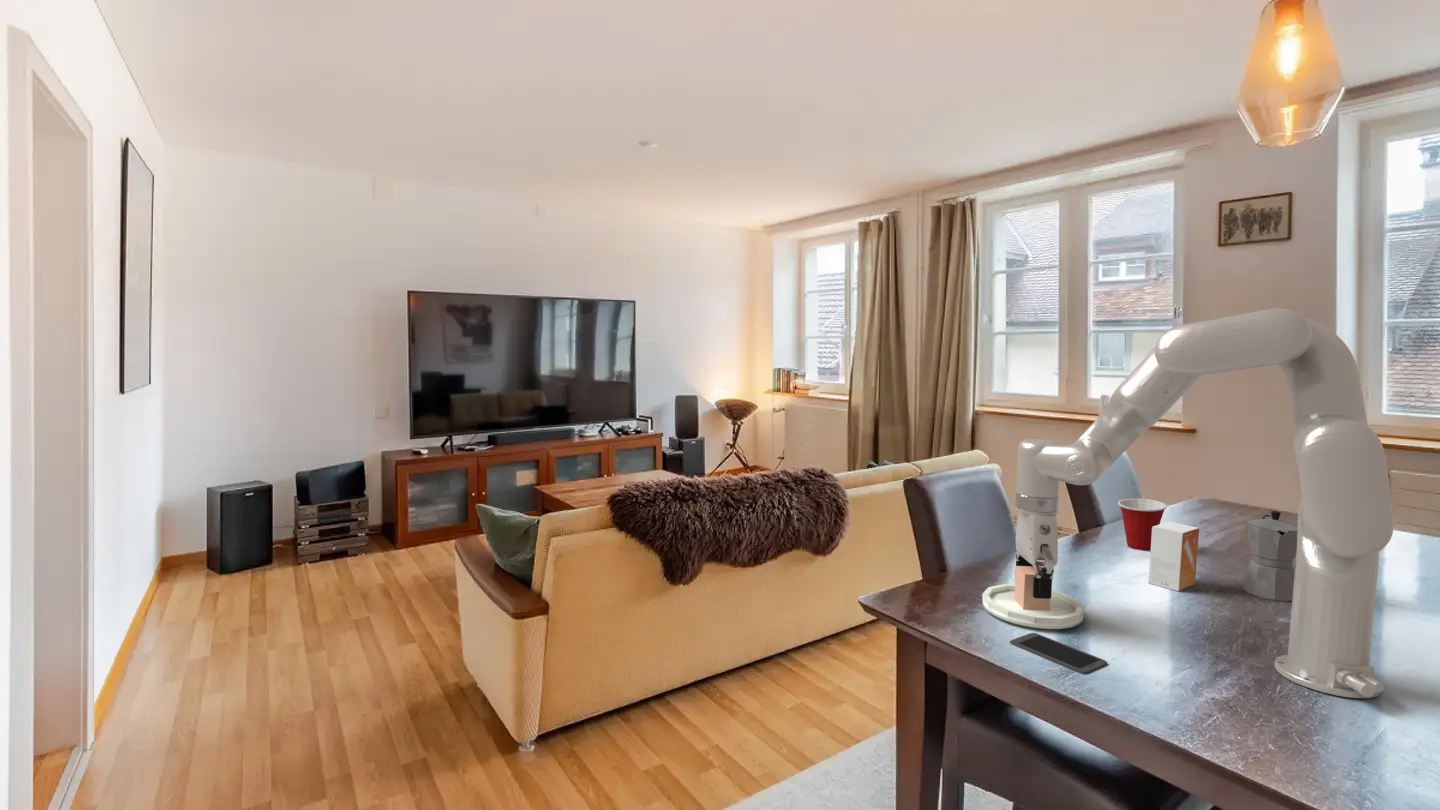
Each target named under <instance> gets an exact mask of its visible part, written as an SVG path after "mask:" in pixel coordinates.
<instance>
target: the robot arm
mask: <svg viewBox="0 0 1440 810" xmlns="http://www.w3.org/2000/svg"><path fill="white" fill-rule="evenodd" d="M1349 348H1350V347H1348V345H1347V344H1346V343H1345V342H1344V340H1342V338H1341V337H1339V335H1337V334H1336V333H1335V332H1334V331H1332V330H1331V329H1330V328H1328V327H1327V326H1325V325H1324V324H1321V323H1319V322H1318V321H1316V320H1314V319H1310V318H1308V317H1304V315H1302V314H1301V313H1299V312H1297V311H1294V310H1292V309H1287V308H1280V307H1279V308H1277V307H1275V308H1267V309H1263V310H1262V309H1261V310H1256V311H1251V312H1247V313H1242V314H1238V315H1236V314H1235V315H1232V316H1225V317H1220V318H1215V319H1210V320H1203V321H1197V322H1190V323H1189V322H1188V323H1185V324H1179V325H1176V326H1173V327H1171V328H1169V329H1167V330H1166V331H1165V332H1163V333H1162V334H1161V335H1160V337H1159V338H1158V340H1157V341H1156V344H1155V346H1154V347H1153V348H1152V349H1151V351H1149V353H1147V355H1146V356H1145V357H1144V358H1143V360H1142V361H1141V362H1139V364H1138V365H1137V366H1136V367H1135V368H1134V369H1133V371H1131V372H1130V373H1129V375H1128V376H1127V377H1126V378H1125V379H1124V380H1122V382H1121V383H1120V384H1119V386H1117V387H1116V389H1115V390H1114V391H1113V393H1112V395H1111V396H1110V399H1109V401H1108V403H1107V405H1106V406H1105V408H1104V410H1103V411H1102V412H1101V413H1100V414H1099V416H1098V417H1097V418H1096V419H1095V420H1094V421H1093V422H1092V424H1091V425H1090V426H1088V428H1087V429H1086V430H1085V431H1084V432H1083V433H1082V435H1080V437H1079V438H1078V439H1077V440H1076V441H1075V442H1073V443H1072V444H1065V445H1064V444H1061V445H1060V444H1059V443H1058V442H1056V441H1053V440H1049V439H1041V438H1039V439H1038V438H1032V439H1031V438H1029V439H1024V440H1022V441H1020V442H1019V443H1018V447H1017V460H1016V483H1015V484H1016V485H1015V503H1014V504H1015V505H1014V509H1015V510H1016V511H1018V512H1017V519H1016V528H1015V550H1016V551H1017V552H1016V553H1015V567H1016V566H1034V570H1035V575H1036V577H1034V579H1033V597H1034V598H1041V599H1050V598H1051V592H1052V590H1053V589H1052V588H1053V578H1054V573H1055V569H1054V568H1055V567H1056V566H1057V565H1058V562H1059V561H1058V560H1059V559H1058V558H1059V552H1058V551H1059V547H1058V545H1059V542H1058V541H1059V539H1058V538H1059V537H1058V536H1059V535H1058V534H1059V533H1058V522H1057V514H1058V512H1059V491H1060V490H1059V489H1060V482H1063V483H1066V484H1071V485H1076V486H1087V485H1090V484H1093V483H1095V482H1096V481H1097V480H1098V479H1099V478H1100V477H1101V476H1102V475H1103V474H1104V473H1106V472H1107V470H1109V468H1110V467H1111V466H1112V465H1113V464H1115V462H1116V461H1117V460H1118V459H1119V458H1120V457H1121V456H1122V455H1123V454H1124V453H1125V452H1126V450H1127V449H1128V448H1130V446H1132V444H1133V443H1135V442H1136V440H1137V439H1138V438H1139V437H1140V436H1141V435H1142V434H1144V433H1145V432H1146V431H1147V430H1149V429H1150V428H1152V427H1153V426H1155V425H1156V423H1157V422H1159V420H1161V418H1163V416H1164V415H1165V414H1166V413H1167V412H1168V411H1169V410H1170V409H1171V408H1172V407H1174V405H1175V404H1176V403H1177V402H1178V401H1179V400H1180V398H1182V396H1184V394H1185V393H1187V391H1189V389H1190V388H1191V387H1193V385H1194V384H1195V383H1197V381H1198V380H1199V379H1200V378H1201V377H1202V376H1203V375H1211V374H1217V373H1227V372H1233V371H1240V370H1245V369H1246V370H1247V369H1254V368H1260V367H1269V366H1274V365H1275V366H1278V368H1279V369H1280V370H1281V371H1282V373H1283V374H1284V377H1285V380H1286V385H1287V390H1288V395H1289V400H1290V408H1291V415H1292V427H1293V436H1292V437H1293V439H1292V449H1293V452H1294V455H1295V457H1296V462H1297V469H1298V478H1299V484H1300V492H1301V500H1300V502H1299V505H1298V509H1297V526H1298V530H1297V553H1296V557H1295V567H1294V568H1295V569H1294V575H1295V576H1294V587H1293V599H1292V601H1291V612H1290V613H1291V614H1290V626H1289V635H1288V651H1287V654H1282V655H1279V656H1276V658H1275V659H1274V664H1273V665H1274V669H1275V670H1276V671H1277V672H1278V674H1280V675H1282V677H1284V678H1285V679H1287V680H1289V681H1291V682H1293V683H1296V684H1298V685H1300V686H1303V687H1304V688H1308V689H1311V690H1314V691H1317V692H1320V693H1323V694H1327V695H1328V694H1329V695H1333V696H1337V697H1344V698H1351V699H1372V698H1376V697H1378V696H1379V695H1381V693H1382V692H1384V691H1385V685H1384V684H1383V683H1382V682H1380V681H1379V680H1377V679H1376V678H1375V677H1374V666H1372V665H1370V657H1371V656H1370V655H1371V648H1372V637H1373V636H1372V635H1373V625H1374V616H1375V605H1376V597H1377V596H1376V594H1377V588H1378V587H1377V585H1378V575H1379V557H1380V555H1379V553H1380V552H1381V551H1382V550H1383V549H1384V548H1385V547H1386V546H1387V545H1388V544H1389V543H1390V541H1391V539H1392V537H1393V533H1394V514H1393V506H1392V504H1393V503H1392V498H1391V496H1392V495H1391V488H1390V481H1389V480H1390V479H1389V474H1388V465H1387V460H1386V458H1387V457H1386V453H1385V450H1384V446H1383V443H1382V441H1381V439H1380V438H1379V436H1378V435H1377V433H1376V432H1375V431H1374V430H1373V429H1372V428H1371V427H1369V424H1368V419H1367V413H1366V408H1365V401H1364V394H1363V389H1362V385H1361V383H1362V382H1361V379H1360V374H1359V369H1358V366H1357V362H1356V360H1355V358H1354V355H1353V353H1352V351H1351V350H1350V349H1349ZM1039 567H1042V569H1041V570H1040V569H1039ZM1014 576H1015V577H1016V571H1015V575H1014Z"/></svg>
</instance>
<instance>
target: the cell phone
mask: <svg viewBox="0 0 1440 810" xmlns="http://www.w3.org/2000/svg"><path fill="white" fill-rule="evenodd" d="M1009 643H1010V645H1013V646H1015V647H1017V648H1019V649H1022V650H1025V651H1026V652H1028V653H1031V654H1033V655H1035V656H1038V657H1040V658H1043V659H1045V660H1048V661H1050V662H1052V663H1055V664H1056V665H1058V666H1062V667H1064V668H1067V669H1069V670H1072V671H1074V672H1076V673H1078V674H1081V675H1089V674H1091V673H1093V672H1095V671H1097V670H1100V669H1102V668H1103V667H1106V666H1108V662H1107V660H1105V659H1103V658H1100V657H1098V656H1095V655H1093V654H1090V653H1088V652H1084V651H1082V650H1080V649H1078V648H1074V647H1072V646H1070V645H1067V644H1065V643H1062V642H1059V641H1057V640H1054V639H1052V638H1049V637H1047V636H1044V635H1042V634H1039V633H1036V632H1030V633H1028V634H1025V635H1021V636H1019V637H1016V638H1014V639H1010V640H1009Z"/></svg>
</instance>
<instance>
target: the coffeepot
mask: <svg viewBox="0 0 1440 810" xmlns="http://www.w3.org/2000/svg"><path fill="white" fill-rule="evenodd" d="M1281 514H1282V513H1281V512H1280V511H1278V510H1273V511H1270V515H1269V514H1264V515H1263V517H1262V518H1260V519H1259V518H1256V519H1253V518H1252V519H1250V520H1248V521H1247V522H1246V525H1247V536H1248V545H1249V552H1250V553H1251V554H1252V556H1251V560H1250V562H1249V565H1248V569H1247V572H1246V575H1245V578H1244V582H1243V585H1242V590H1243V591H1244V592H1245V591H1246V593H1247V594H1249V595H1251V596H1253V595H1254V596H1253V597H1256V596H1257V597H1256V598H1260V599H1264V598H1265V600H1268V599H1269V600H1268V601H1276V602H1292V599H1293V587H1294V576H1295V569H1294V568H1295V567H1293V563H1294V562H1293V561H1294V560H1295V559H1296V553H1297V530H1298V525H1296V524H1294V523H1292V522H1287V521H1284V520H1281V519H1280V516H1281Z"/></svg>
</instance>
